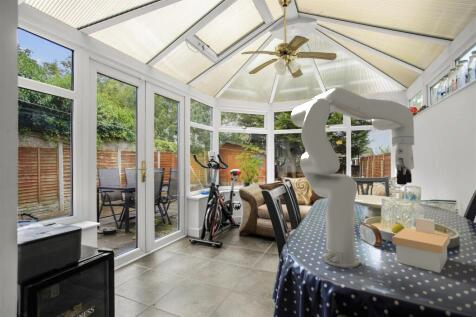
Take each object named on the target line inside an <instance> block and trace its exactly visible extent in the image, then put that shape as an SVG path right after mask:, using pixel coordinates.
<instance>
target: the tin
mask: <svg viewBox="0 0 476 317" xmlns="http://www.w3.org/2000/svg"><path fill="white" fill-rule="evenodd" d="M358 230H359V236H360V238H361V239H362V241H364V242H365V243H366V244H368V245H370V246H372V247H381V246H382V244H383V237H382V233H381V231H380V229H379V227H377V226H375V225H374V224H371V223H370V222H367V221H366V222H361V223H359V225H358Z"/></svg>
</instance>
